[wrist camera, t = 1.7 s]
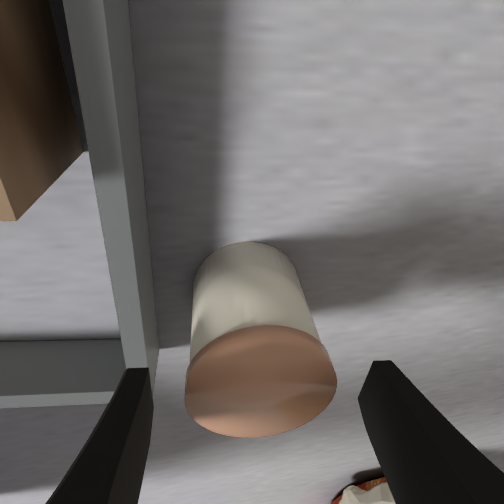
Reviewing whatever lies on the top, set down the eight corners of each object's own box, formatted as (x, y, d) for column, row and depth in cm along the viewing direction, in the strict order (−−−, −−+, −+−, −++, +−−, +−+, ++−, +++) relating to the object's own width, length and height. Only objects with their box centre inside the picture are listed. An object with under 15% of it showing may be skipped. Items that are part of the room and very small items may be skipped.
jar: (290, 323, 17) (320, 433, 12) (191, 325, 16) (185, 441, 12) (307, 240, 14) (353, 341, 10) (190, 238, 14) (182, 345, 9)
